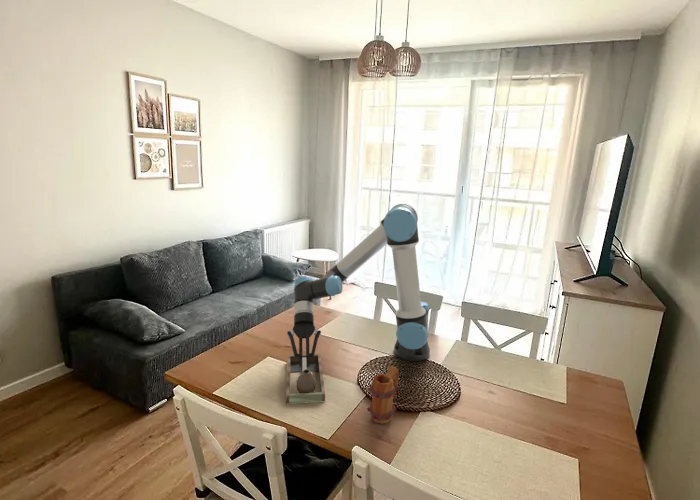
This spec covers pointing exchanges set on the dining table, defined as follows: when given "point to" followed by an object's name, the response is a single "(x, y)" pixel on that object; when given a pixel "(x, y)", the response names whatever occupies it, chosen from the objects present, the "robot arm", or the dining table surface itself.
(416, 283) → the robot arm
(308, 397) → the box
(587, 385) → the dining table surface
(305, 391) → the vase
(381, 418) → the mug
